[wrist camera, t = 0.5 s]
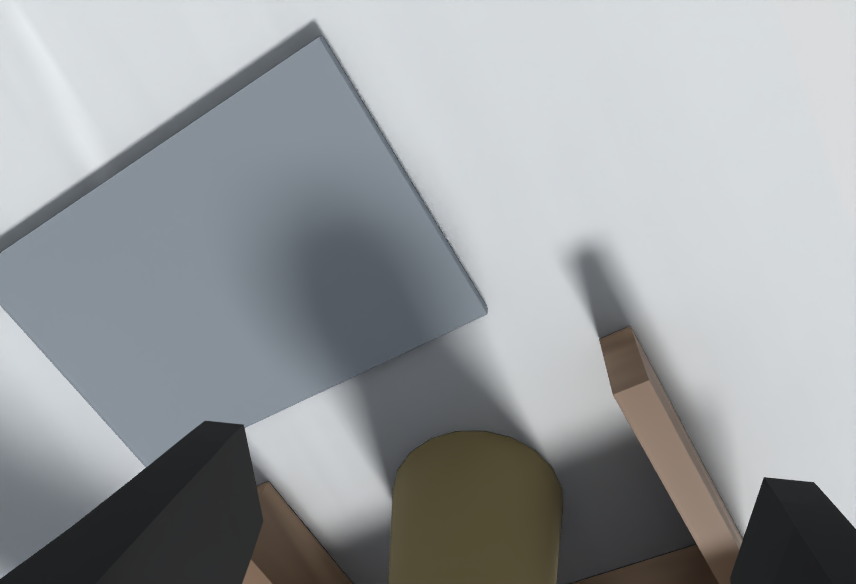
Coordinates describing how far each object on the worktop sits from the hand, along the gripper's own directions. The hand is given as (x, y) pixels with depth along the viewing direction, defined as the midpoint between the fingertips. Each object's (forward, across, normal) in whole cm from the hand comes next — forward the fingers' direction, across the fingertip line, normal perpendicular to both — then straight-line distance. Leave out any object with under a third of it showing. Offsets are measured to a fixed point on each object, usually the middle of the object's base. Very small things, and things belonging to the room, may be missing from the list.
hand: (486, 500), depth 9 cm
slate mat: (+10, +9, +3) cm, 14 cm away
